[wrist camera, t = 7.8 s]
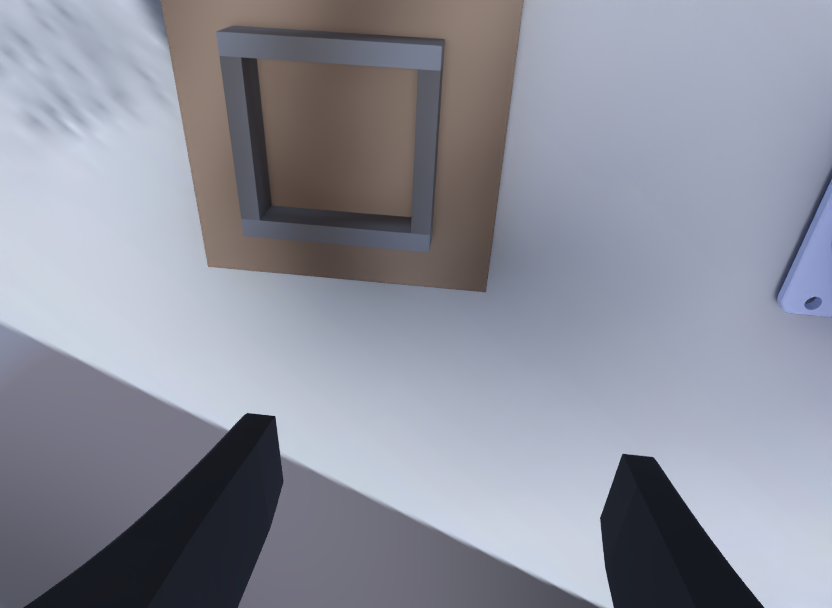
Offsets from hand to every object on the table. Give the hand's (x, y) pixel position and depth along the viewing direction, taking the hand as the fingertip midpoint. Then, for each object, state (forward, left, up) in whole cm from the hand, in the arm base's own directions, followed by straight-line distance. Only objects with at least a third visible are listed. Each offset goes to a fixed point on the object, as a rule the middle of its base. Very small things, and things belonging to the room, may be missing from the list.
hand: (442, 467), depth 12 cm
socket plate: (+4, -4, -10) cm, 11 cm away
